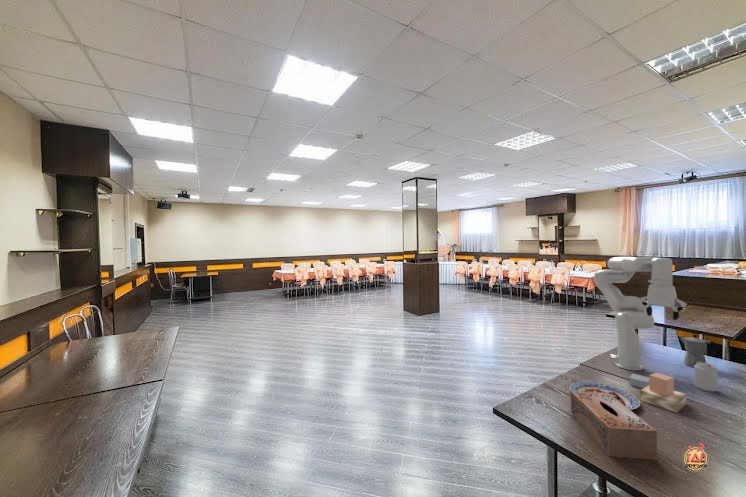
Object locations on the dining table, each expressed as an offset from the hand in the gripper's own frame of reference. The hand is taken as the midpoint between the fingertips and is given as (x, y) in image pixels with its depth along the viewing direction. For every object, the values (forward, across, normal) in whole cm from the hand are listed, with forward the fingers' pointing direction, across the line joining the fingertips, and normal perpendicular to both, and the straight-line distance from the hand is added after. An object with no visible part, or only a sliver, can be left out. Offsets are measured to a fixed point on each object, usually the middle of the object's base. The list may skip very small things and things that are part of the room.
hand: (662, 317), depth 149 cm
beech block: (+35, +7, -19) cm, 40 cm away
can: (+34, +11, +14) cm, 39 cm away
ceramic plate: (+35, -8, -38) cm, 52 cm away
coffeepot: (+34, -1, +47) cm, 58 cm away
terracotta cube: (+30, +6, -19) cm, 36 cm away
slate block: (+35, -6, -8) cm, 36 cm away
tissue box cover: (+35, +7, -65) cm, 74 cm away
